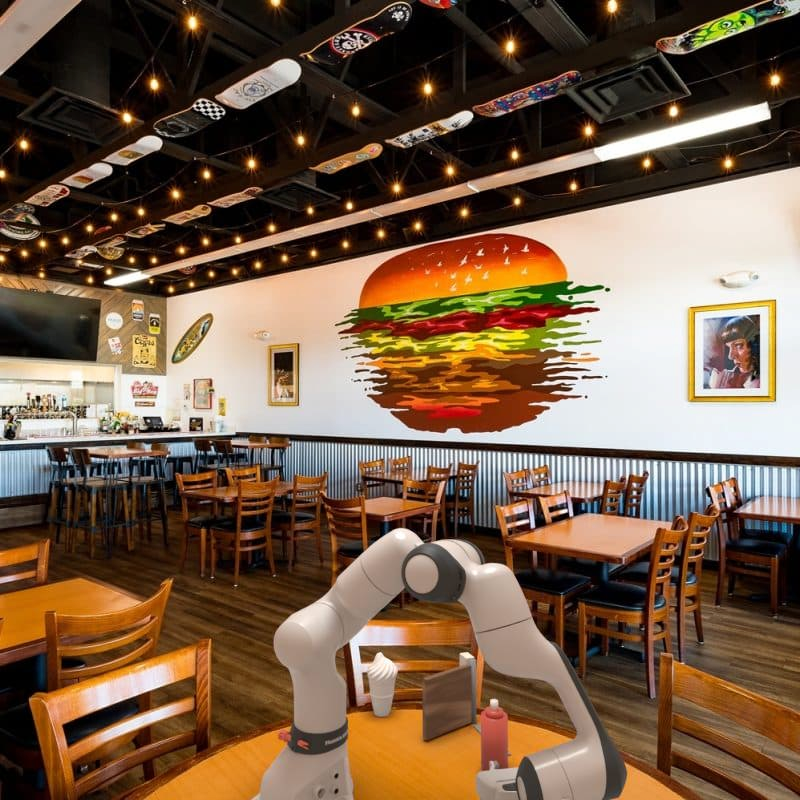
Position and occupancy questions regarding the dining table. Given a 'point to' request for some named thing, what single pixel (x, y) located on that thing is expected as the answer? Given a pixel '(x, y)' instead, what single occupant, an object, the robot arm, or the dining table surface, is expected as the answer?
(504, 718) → the ketchup bottle
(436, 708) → the door
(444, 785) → the dining table surface
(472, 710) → the white-tipped grey slat
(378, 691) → the soft serve ice cream cone
